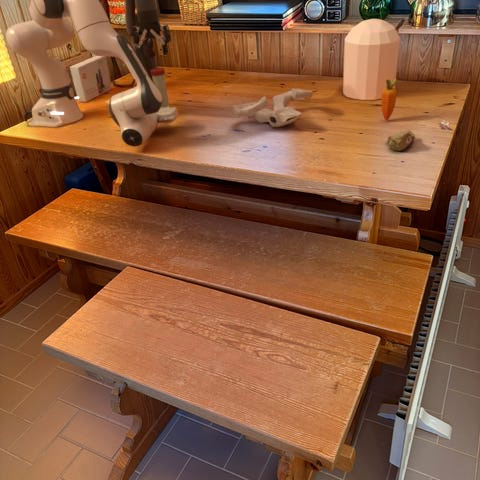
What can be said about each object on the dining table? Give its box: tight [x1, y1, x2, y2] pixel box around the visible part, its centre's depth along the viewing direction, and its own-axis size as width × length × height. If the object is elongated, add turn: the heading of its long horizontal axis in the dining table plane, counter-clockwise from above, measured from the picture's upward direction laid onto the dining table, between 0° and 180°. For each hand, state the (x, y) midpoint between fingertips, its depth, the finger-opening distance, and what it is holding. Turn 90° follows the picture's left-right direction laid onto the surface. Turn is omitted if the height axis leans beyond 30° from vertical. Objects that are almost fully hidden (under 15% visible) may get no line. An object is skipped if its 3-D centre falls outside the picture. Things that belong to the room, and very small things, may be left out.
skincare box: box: [69, 55, 113, 103], centre depth 218 cm, size 21×6×16 cm, turn 158°
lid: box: [150, 67, 166, 76], centre depth 180 cm, size 6×6×2 cm
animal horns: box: [231, 88, 314, 128], centre depth 171 cm, size 28×26×12 cm
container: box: [342, 18, 401, 101], centre depth 185 cm, size 21×21×28 cm
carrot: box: [380, 78, 398, 122], centre depth 161 cm, size 5×5×15 cm
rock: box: [387, 129, 416, 152], centre depth 146 cm, size 11×6×10 cm
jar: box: [152, 73, 170, 108], centre depth 185 cm, size 5×5×18 cm
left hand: (156, 108), depth 180 cm, fingers open, 8 cm apart
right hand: (155, 55), depth 177 cm, fingers open, 8 cm apart
